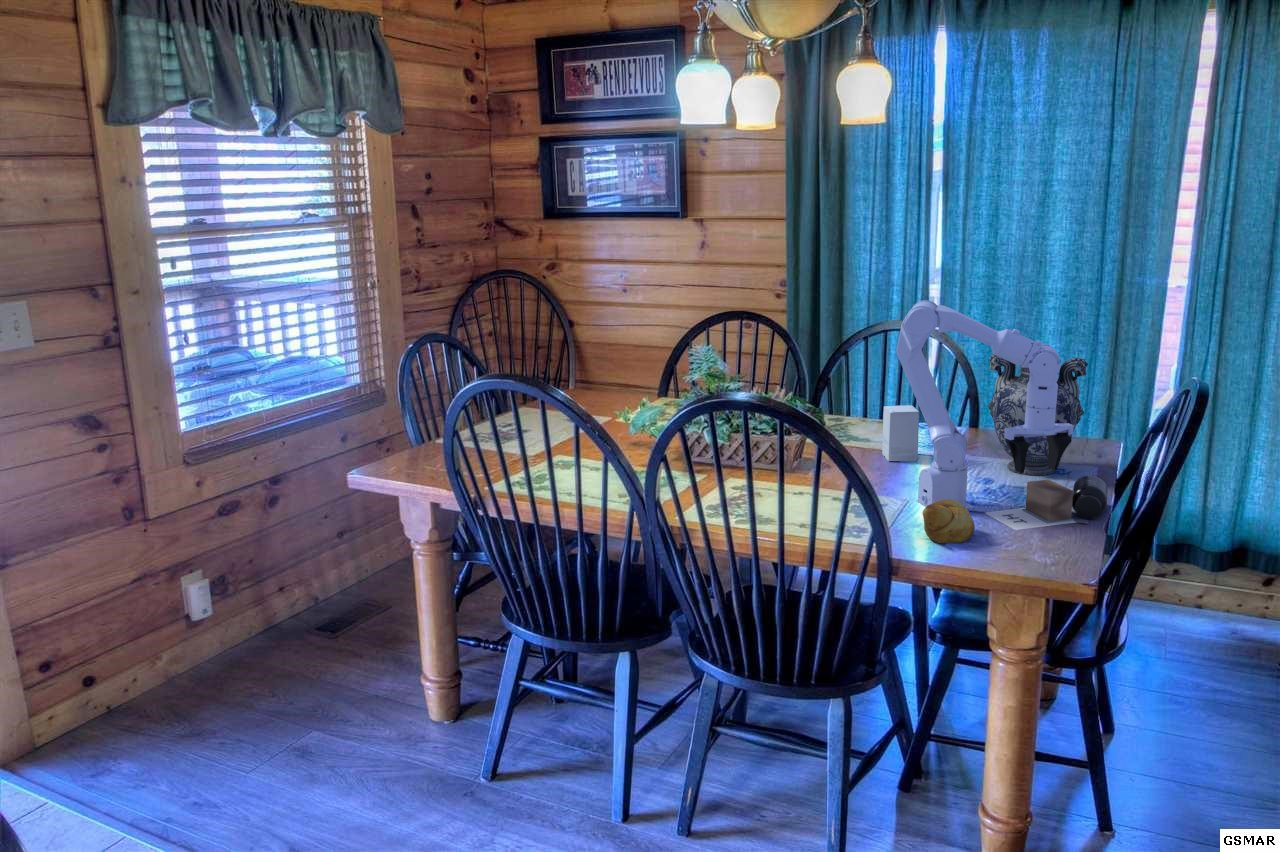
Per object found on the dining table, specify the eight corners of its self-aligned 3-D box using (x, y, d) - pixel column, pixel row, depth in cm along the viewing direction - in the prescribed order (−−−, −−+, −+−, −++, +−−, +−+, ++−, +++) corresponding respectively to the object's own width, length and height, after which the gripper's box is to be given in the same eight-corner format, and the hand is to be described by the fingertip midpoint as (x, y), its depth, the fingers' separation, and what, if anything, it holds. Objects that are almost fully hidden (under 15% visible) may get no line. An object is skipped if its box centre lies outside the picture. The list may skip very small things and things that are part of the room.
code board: (1014, 532, 203) (1015, 529, 203) (984, 515, 213) (984, 512, 213) (1077, 525, 206) (1077, 522, 206) (1043, 508, 217) (1043, 505, 216)
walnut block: (1049, 521, 206) (1051, 493, 204) (1025, 509, 214) (1027, 481, 212) (1071, 519, 207) (1073, 490, 206) (1046, 506, 215) (1048, 479, 213)
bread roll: (924, 523, 210) (926, 486, 208) (974, 527, 207) (976, 489, 205) (920, 545, 198) (921, 506, 196) (973, 550, 195) (975, 510, 193)
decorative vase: (1081, 462, 248) (1089, 347, 240) (1078, 485, 231) (1086, 363, 224) (988, 454, 256) (993, 343, 249) (979, 476, 240) (984, 358, 233)
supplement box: (918, 461, 253) (920, 411, 250) (887, 462, 253) (889, 412, 250) (911, 453, 260) (912, 404, 257) (881, 454, 260) (883, 405, 257)
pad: (1047, 523, 206) (1047, 522, 206) (1021, 510, 214) (1022, 508, 214) (1073, 520, 207) (1073, 519, 207) (1047, 507, 215) (1047, 505, 215)
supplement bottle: (1066, 495, 219) (1062, 512, 208) (1083, 468, 216) (1080, 484, 206) (1097, 511, 217) (1095, 529, 207) (1114, 485, 214) (1113, 501, 204)
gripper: (1020, 413, 203) (1015, 478, 206) (1085, 407, 206) (1079, 472, 209) (1000, 405, 210) (996, 469, 213) (1063, 400, 213) (1058, 463, 216)
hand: (1036, 470), depth 212 cm, fingers open, 7 cm apart
